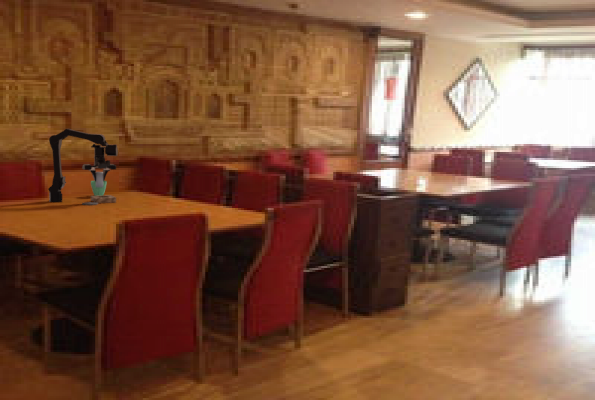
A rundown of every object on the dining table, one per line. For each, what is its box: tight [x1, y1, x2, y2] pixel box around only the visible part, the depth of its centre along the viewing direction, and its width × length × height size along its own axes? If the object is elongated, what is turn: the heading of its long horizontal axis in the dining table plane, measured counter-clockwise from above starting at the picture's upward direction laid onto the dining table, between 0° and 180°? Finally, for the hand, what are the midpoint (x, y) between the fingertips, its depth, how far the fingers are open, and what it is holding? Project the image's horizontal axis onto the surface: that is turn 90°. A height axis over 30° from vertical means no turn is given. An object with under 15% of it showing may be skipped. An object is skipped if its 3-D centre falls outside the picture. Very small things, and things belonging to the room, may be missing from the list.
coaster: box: [81, 201, 99, 206], centre depth 371 cm, size 9×9×1 cm
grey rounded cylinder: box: [96, 171, 103, 187], centre depth 378 cm, size 4×4×9 cm
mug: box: [90, 180, 108, 196], centre depth 406 cm, size 15×10×10 cm
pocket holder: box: [90, 194, 117, 204], centre depth 383 cm, size 12×12×3 cm
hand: (99, 181), depth 378 cm, fingers closed on grey rounded cylinder, 4 cm apart
